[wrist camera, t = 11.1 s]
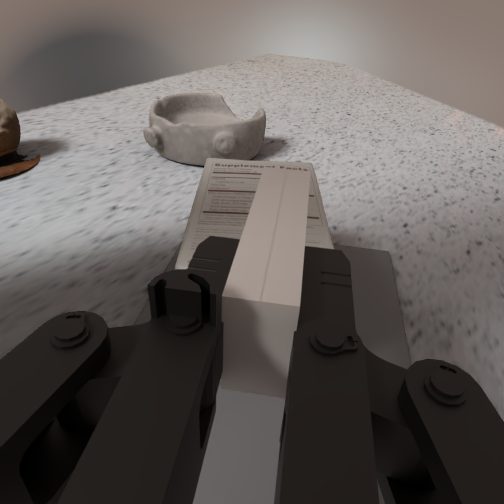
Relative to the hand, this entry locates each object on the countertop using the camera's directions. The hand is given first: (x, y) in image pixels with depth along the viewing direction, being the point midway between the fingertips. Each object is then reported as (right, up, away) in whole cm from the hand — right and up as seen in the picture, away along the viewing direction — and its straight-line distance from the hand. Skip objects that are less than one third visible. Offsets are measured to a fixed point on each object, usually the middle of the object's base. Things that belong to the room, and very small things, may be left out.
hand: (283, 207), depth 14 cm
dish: (-7, +11, +37) cm, 39 cm away
